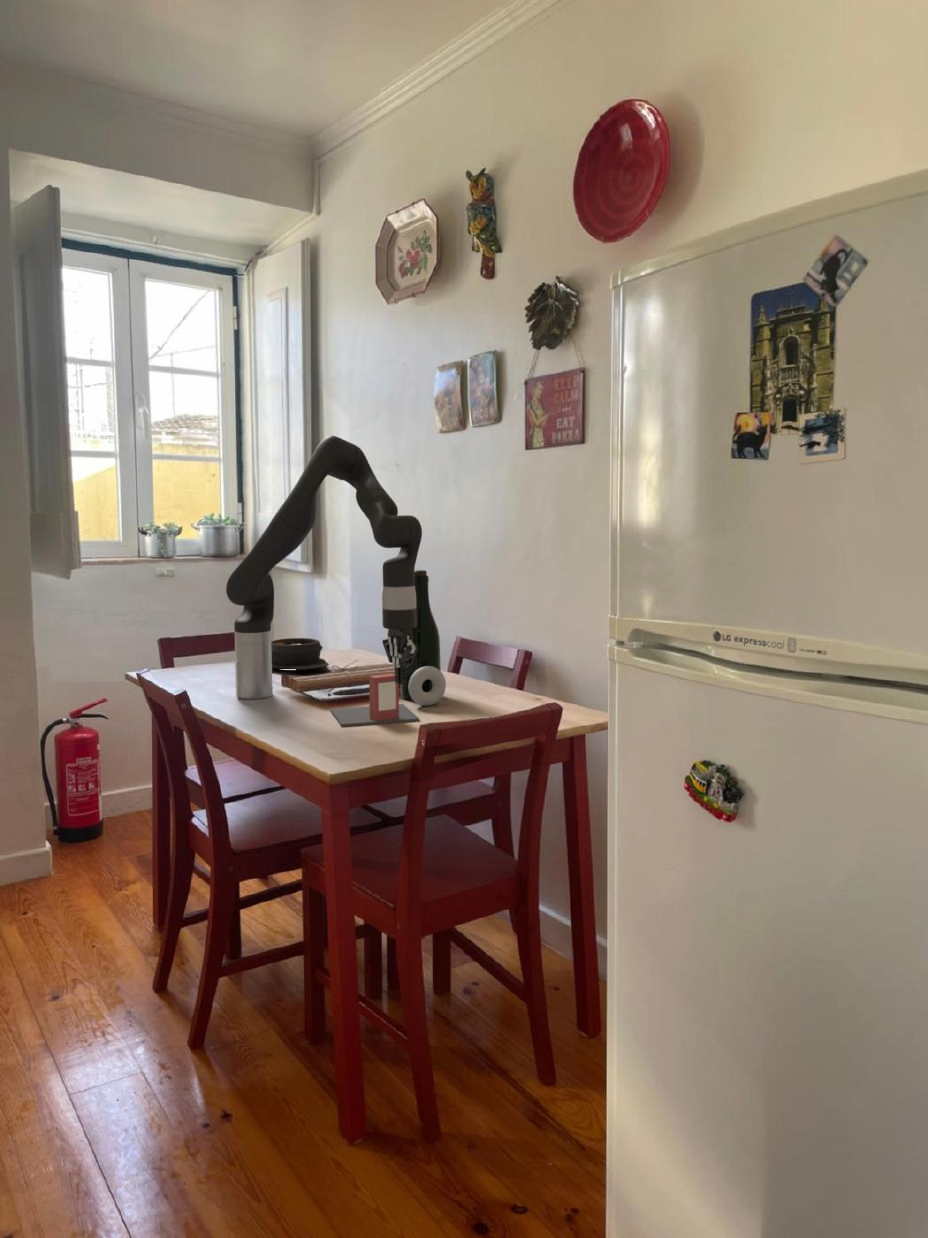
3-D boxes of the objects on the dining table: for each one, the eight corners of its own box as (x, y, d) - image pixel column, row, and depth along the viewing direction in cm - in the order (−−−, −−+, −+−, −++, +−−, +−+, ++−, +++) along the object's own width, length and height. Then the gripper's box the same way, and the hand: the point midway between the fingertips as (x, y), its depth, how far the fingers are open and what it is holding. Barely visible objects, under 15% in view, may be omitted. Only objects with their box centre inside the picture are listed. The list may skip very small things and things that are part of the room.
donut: (442, 702, 226) (442, 663, 225) (448, 705, 223) (448, 665, 222) (406, 706, 222) (405, 666, 221) (411, 709, 219) (411, 668, 217)
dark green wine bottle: (397, 694, 236) (395, 569, 232) (435, 692, 239) (434, 568, 235) (405, 702, 226) (404, 572, 222) (445, 700, 229) (445, 571, 225)
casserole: (247, 666, 278) (247, 640, 277) (300, 659, 290) (299, 634, 289) (290, 678, 259) (289, 649, 258) (343, 670, 272) (343, 642, 271)
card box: (375, 721, 204) (375, 678, 203) (369, 718, 206) (369, 676, 205) (399, 718, 207) (398, 675, 206) (392, 715, 210) (392, 673, 208)
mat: (341, 726, 201) (341, 724, 201) (330, 711, 216) (330, 709, 216) (419, 721, 207) (419, 718, 206) (402, 706, 222) (402, 704, 222)
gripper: (429, 607, 194) (430, 686, 196) (400, 602, 205) (401, 677, 208) (398, 610, 190) (400, 690, 192) (370, 605, 201) (372, 680, 204)
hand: (400, 683), depth 200 cm, fingers closed
